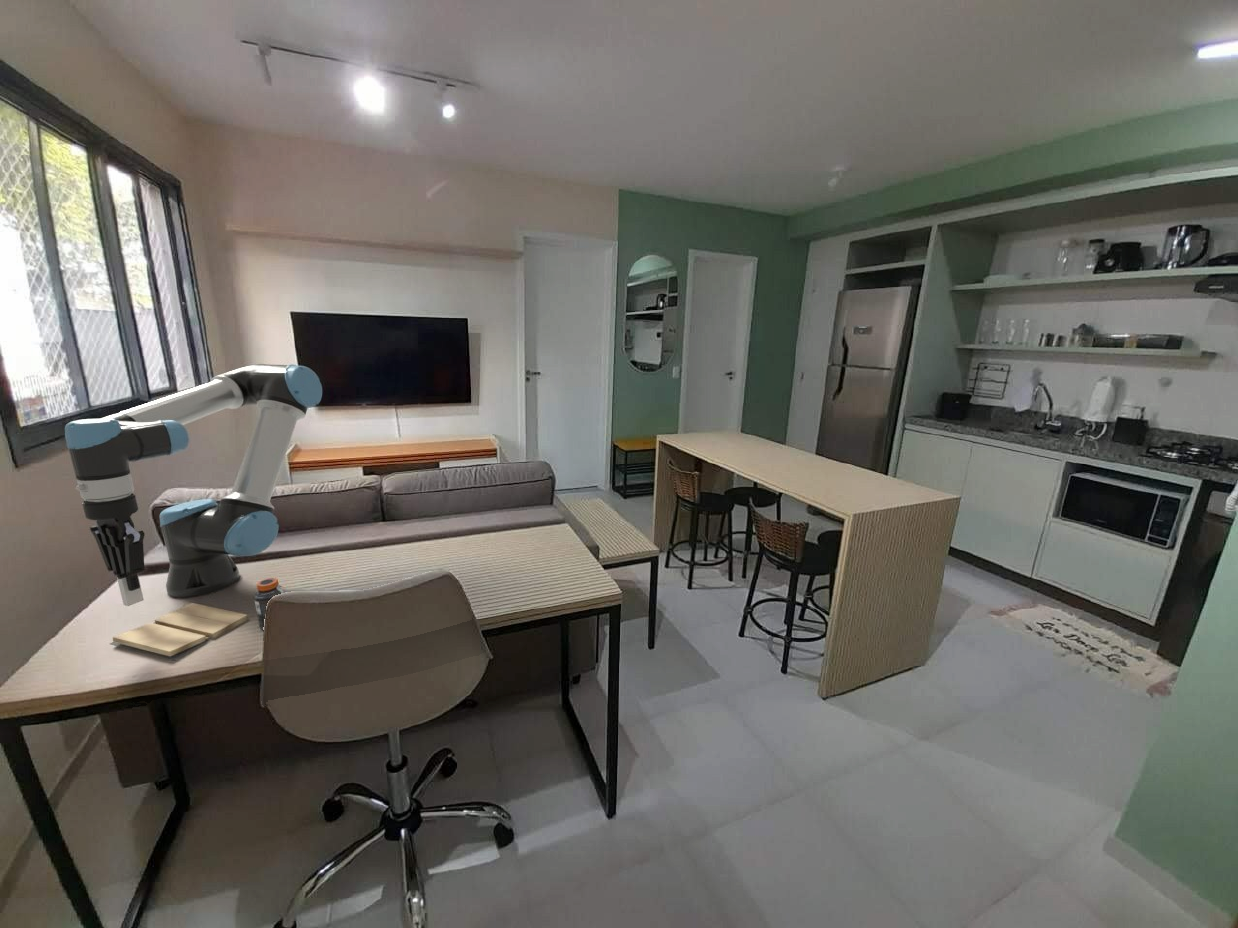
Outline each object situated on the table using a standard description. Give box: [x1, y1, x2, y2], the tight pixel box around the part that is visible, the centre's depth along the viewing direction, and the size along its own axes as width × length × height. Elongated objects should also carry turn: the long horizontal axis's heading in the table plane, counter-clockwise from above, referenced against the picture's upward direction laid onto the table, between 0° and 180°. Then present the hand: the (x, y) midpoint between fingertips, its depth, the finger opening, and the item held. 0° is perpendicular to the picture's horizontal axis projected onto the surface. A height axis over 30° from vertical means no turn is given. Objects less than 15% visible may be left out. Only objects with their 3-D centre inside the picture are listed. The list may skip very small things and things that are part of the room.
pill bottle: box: [253, 577, 286, 631], centre depth 114 cm, size 6×6×11 cm
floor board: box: [154, 602, 249, 639], centre depth 115 cm, size 8×18×1 cm, turn 74°
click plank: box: [112, 622, 209, 656], centre depth 108 cm, size 8×17×1 cm, turn 74°
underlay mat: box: [109, 615, 254, 661], centre depth 113 cm, size 17×20×1 cm
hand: (133, 602), depth 104 cm, fingers closed
